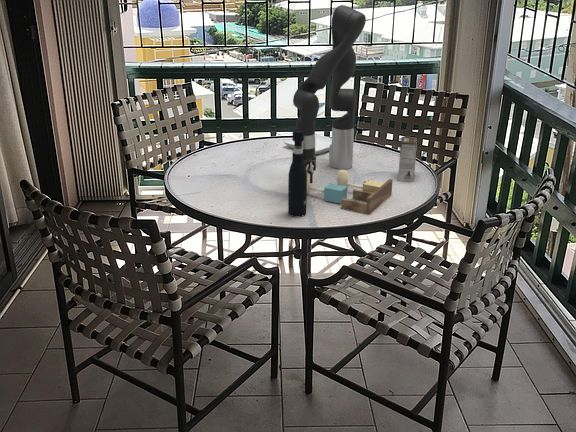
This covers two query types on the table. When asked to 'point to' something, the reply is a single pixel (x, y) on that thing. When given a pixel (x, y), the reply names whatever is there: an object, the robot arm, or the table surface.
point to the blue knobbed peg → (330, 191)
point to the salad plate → (316, 144)
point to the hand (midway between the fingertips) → (304, 186)
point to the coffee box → (407, 158)
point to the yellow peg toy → (367, 186)
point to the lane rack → (368, 199)
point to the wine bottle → (297, 178)
